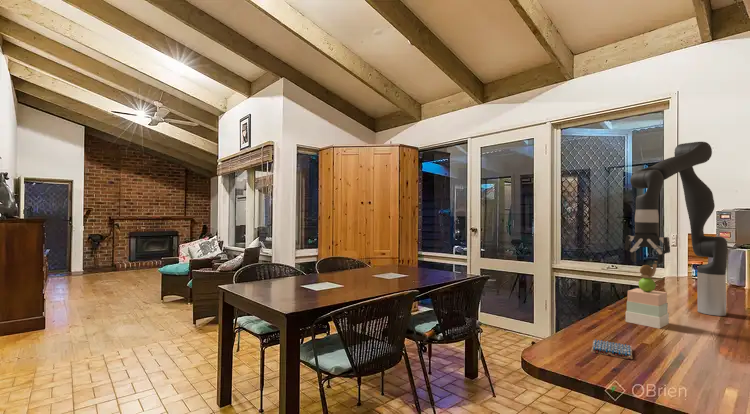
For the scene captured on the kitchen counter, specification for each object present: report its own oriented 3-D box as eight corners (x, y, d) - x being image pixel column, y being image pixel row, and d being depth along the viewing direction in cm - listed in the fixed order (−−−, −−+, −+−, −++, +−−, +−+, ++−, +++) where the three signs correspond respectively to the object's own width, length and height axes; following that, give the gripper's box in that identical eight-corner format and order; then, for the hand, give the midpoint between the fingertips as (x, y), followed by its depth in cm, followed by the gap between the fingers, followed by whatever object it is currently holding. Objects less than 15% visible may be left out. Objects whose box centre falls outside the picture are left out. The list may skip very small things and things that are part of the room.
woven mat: (632, 350, 116) (632, 344, 116) (633, 362, 107) (633, 354, 107) (592, 344, 122) (592, 337, 122) (590, 354, 113) (590, 347, 113)
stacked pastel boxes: (635, 317, 154) (635, 287, 155) (668, 323, 146) (668, 292, 146) (625, 321, 147) (625, 290, 148) (659, 328, 139) (659, 295, 139)
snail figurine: (661, 293, 144) (661, 261, 144) (644, 293, 144) (644, 261, 144) (651, 290, 149) (651, 260, 149) (635, 290, 149) (635, 259, 150)
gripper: (672, 221, 144) (672, 264, 144) (629, 220, 155) (629, 260, 155) (665, 221, 139) (666, 265, 139) (622, 221, 151) (622, 261, 150)
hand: (646, 262), depth 147 cm, fingers open, 8 cm apart
